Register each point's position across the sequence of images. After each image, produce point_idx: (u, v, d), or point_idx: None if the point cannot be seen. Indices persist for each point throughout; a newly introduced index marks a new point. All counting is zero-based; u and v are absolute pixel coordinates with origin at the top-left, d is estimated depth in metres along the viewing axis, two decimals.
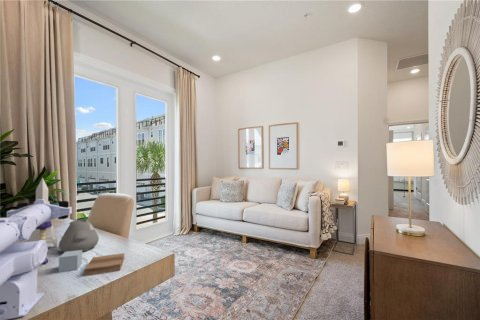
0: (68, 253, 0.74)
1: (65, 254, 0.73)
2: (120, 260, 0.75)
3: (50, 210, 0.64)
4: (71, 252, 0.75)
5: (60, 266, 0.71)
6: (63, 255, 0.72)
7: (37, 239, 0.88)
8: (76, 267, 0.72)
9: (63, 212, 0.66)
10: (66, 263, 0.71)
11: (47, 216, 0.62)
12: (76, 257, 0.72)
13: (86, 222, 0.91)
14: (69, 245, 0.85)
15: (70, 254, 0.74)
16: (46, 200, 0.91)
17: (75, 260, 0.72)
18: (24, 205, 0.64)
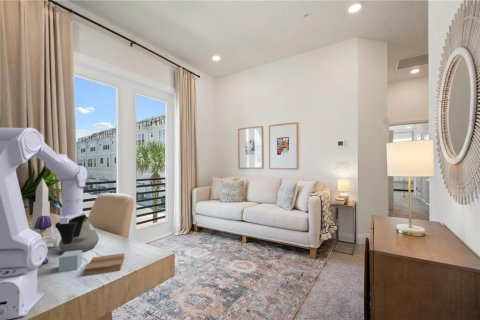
0: (68, 253, 0.74)
1: (65, 254, 0.73)
2: (120, 260, 0.75)
3: (72, 213, 0.72)
4: (71, 252, 0.75)
5: (60, 266, 0.71)
6: (63, 255, 0.72)
7: None
8: (76, 267, 0.72)
9: None
10: (66, 263, 0.71)
11: (68, 207, 0.72)
12: (76, 257, 0.72)
13: (86, 222, 0.91)
14: (69, 245, 0.85)
15: (70, 253, 0.74)
16: (46, 200, 0.91)
17: (75, 260, 0.72)
18: (83, 216, 0.79)
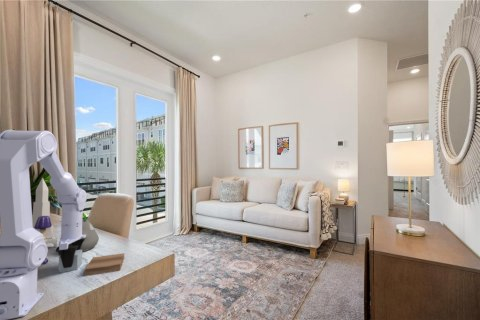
0: None
1: None
2: (120, 260, 0.75)
3: (71, 237, 0.72)
4: None
5: (60, 265, 0.71)
6: None
7: None
8: (76, 267, 0.72)
9: (64, 242, 0.69)
10: None
11: (67, 231, 0.71)
12: (76, 257, 0.72)
13: (86, 222, 0.91)
14: None
15: None
16: (46, 200, 0.91)
17: (75, 259, 0.72)
18: (82, 238, 0.79)
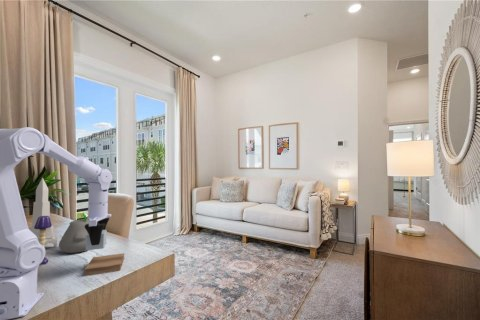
0: None
1: None
2: (120, 260, 0.75)
3: (98, 215, 0.73)
4: None
5: (87, 244, 0.72)
6: None
7: None
8: (102, 245, 0.74)
9: (92, 220, 0.70)
10: None
11: (94, 209, 0.73)
12: (102, 235, 0.74)
13: (86, 222, 0.91)
14: (69, 245, 0.85)
15: None
16: (46, 200, 0.91)
17: (101, 238, 0.73)
18: (107, 218, 0.80)
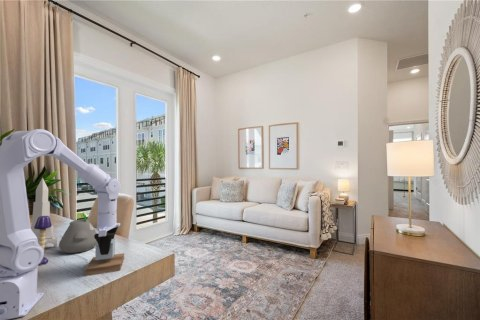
0: None
1: None
2: (120, 260, 0.75)
3: (108, 225, 0.73)
4: None
5: (96, 253, 0.72)
6: None
7: None
8: (111, 255, 0.74)
9: (102, 230, 0.70)
10: None
11: (104, 219, 0.73)
12: (111, 245, 0.74)
13: (86, 222, 0.91)
14: (69, 245, 0.85)
15: None
16: (46, 200, 0.91)
17: (111, 247, 0.74)
18: (115, 226, 0.80)
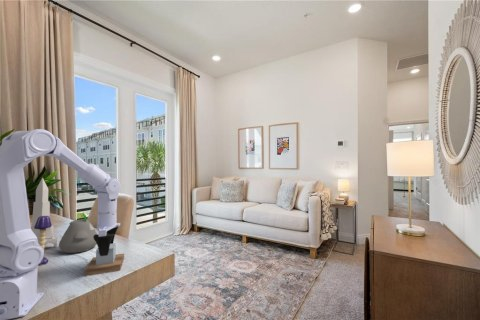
0: None
1: None
2: (120, 260, 0.75)
3: (108, 225, 0.73)
4: None
5: (97, 259, 0.72)
6: None
7: None
8: (112, 260, 0.74)
9: (102, 229, 0.70)
10: None
11: (104, 219, 0.73)
12: (112, 250, 0.74)
13: (86, 222, 0.91)
14: (69, 245, 0.85)
15: None
16: (46, 200, 0.91)
17: (111, 252, 0.73)
18: (115, 226, 0.80)
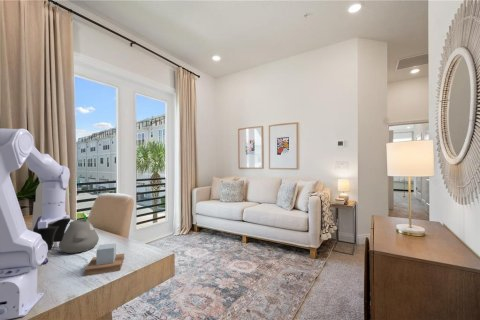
0: (103, 246, 0.75)
1: (101, 247, 0.74)
2: (120, 260, 0.75)
3: (52, 216, 0.67)
4: (106, 245, 0.76)
5: (97, 258, 0.72)
6: (100, 248, 0.73)
7: None
8: (112, 260, 0.74)
9: None
10: (103, 255, 0.73)
11: (48, 210, 0.67)
12: (112, 250, 0.74)
13: (86, 222, 0.91)
14: (69, 245, 0.85)
15: (106, 246, 0.75)
16: None
17: (112, 252, 0.73)
18: (66, 219, 0.74)
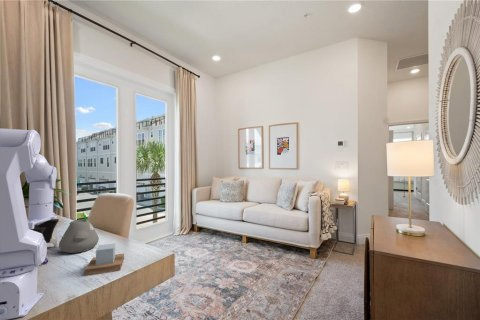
0: (103, 246, 0.75)
1: (101, 247, 0.74)
2: (120, 260, 0.75)
3: (39, 217, 0.66)
4: (106, 245, 0.76)
5: (97, 259, 0.72)
6: (99, 248, 0.73)
7: None
8: (112, 260, 0.74)
9: None
10: (102, 256, 0.72)
11: (34, 211, 0.66)
12: (112, 250, 0.74)
13: (86, 222, 0.91)
14: (69, 245, 0.85)
15: (105, 247, 0.75)
16: None
17: (111, 253, 0.73)
18: (54, 220, 0.73)
